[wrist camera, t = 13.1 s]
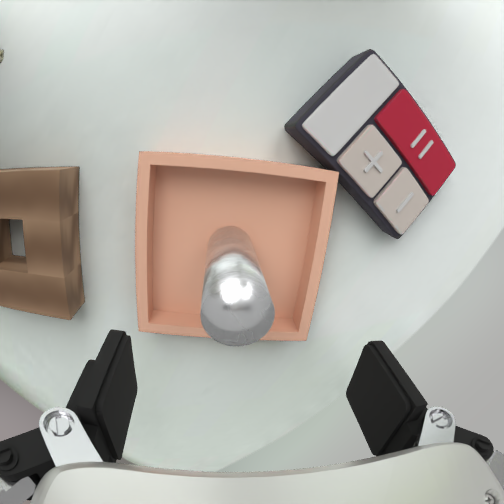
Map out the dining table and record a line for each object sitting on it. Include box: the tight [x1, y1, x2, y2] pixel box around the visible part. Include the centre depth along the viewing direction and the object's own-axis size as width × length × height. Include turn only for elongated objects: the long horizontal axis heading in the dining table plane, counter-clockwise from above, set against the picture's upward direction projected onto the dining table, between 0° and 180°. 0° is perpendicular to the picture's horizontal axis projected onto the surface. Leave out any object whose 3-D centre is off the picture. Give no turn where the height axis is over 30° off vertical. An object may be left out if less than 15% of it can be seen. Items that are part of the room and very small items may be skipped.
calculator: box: [285, 49, 456, 239], centre depth 25 cm, size 11×4×15 cm
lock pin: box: [200, 226, 275, 346], centre depth 22 cm, size 4×4×12 cm
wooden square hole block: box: [0, 167, 85, 320], centre depth 24 cm, size 14×14×4 cm
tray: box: [135, 151, 339, 341], centre depth 27 cm, size 16×16×4 cm
